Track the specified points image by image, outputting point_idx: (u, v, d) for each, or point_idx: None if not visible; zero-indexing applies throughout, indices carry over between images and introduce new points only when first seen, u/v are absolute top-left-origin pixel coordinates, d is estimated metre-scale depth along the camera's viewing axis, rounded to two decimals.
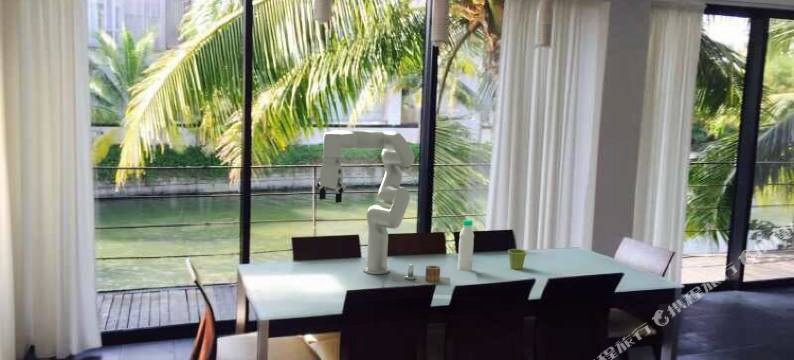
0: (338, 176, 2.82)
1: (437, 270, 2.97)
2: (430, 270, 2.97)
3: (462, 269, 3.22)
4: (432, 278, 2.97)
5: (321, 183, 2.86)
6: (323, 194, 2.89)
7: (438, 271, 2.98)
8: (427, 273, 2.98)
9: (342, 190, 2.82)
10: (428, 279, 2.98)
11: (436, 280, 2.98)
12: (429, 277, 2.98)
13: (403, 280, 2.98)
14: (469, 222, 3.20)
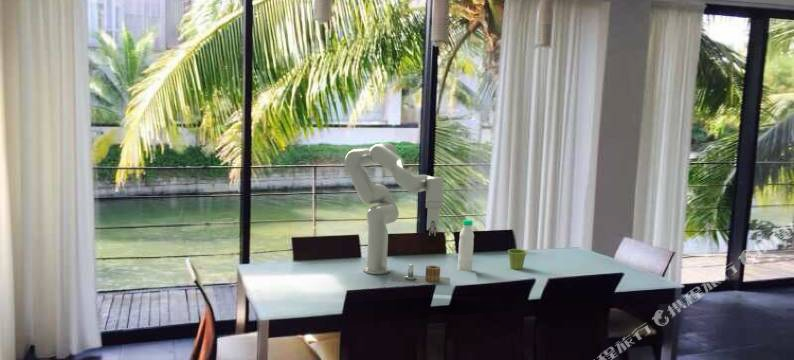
0: None
1: (437, 270, 2.97)
2: (430, 270, 2.97)
3: (462, 269, 3.22)
4: (432, 278, 2.97)
5: (437, 228, 2.93)
6: None
7: (438, 271, 2.98)
8: (427, 273, 2.98)
9: None
10: (428, 279, 2.98)
11: (436, 280, 2.98)
12: (429, 277, 2.98)
13: (403, 280, 2.98)
14: (469, 222, 3.20)
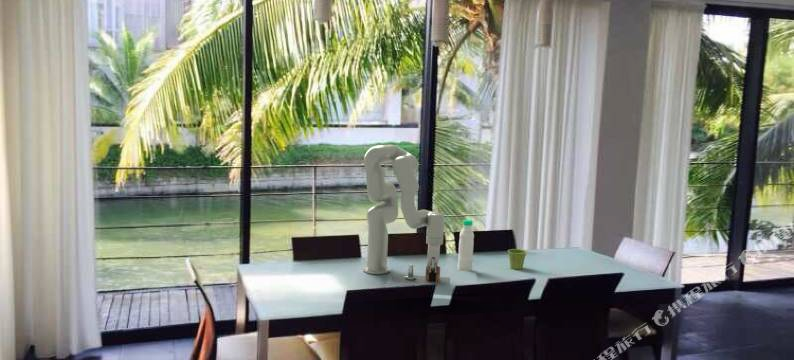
0: None
1: (437, 270, 2.97)
2: None
3: (462, 269, 3.22)
4: None
5: (437, 264, 2.96)
6: None
7: (438, 271, 2.98)
8: (427, 273, 2.98)
9: None
10: (428, 279, 2.98)
11: (436, 280, 2.98)
12: None
13: (403, 280, 2.98)
14: (469, 222, 3.20)
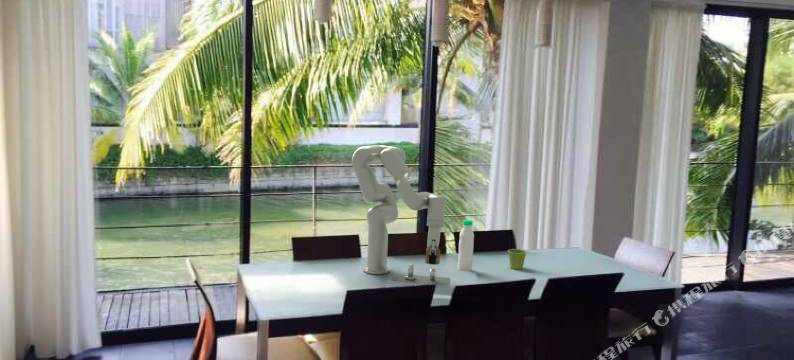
0: None
1: (437, 252, 2.96)
2: None
3: (462, 269, 3.22)
4: None
5: None
6: None
7: (438, 253, 2.97)
8: (427, 255, 2.97)
9: None
10: (428, 261, 2.97)
11: (436, 262, 2.97)
12: None
13: (403, 280, 2.98)
14: (469, 222, 3.20)
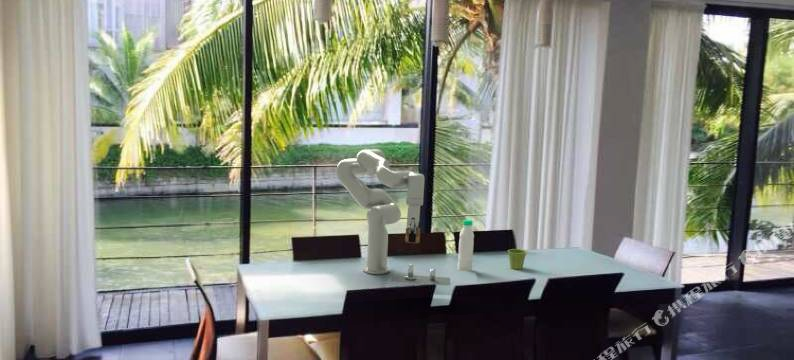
0: None
1: (417, 231, 2.96)
2: None
3: (462, 269, 3.22)
4: None
5: (417, 224, 2.94)
6: None
7: (418, 232, 2.96)
8: (407, 234, 2.97)
9: None
10: None
11: (416, 241, 2.96)
12: None
13: (403, 280, 2.98)
14: (469, 222, 3.20)
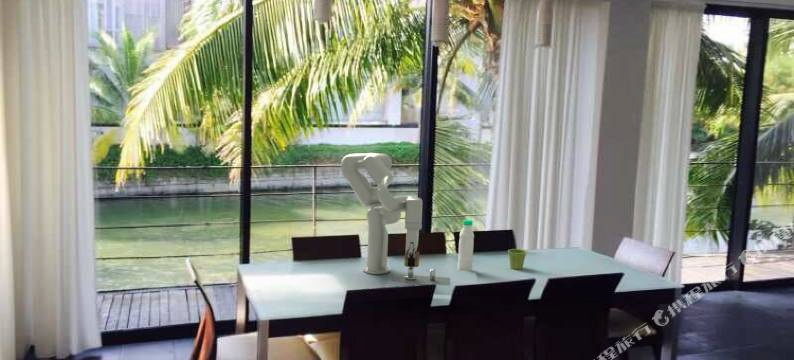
0: None
1: (416, 255, 2.97)
2: None
3: (462, 269, 3.22)
4: None
5: (416, 248, 2.95)
6: None
7: (417, 256, 2.98)
8: (406, 258, 2.98)
9: None
10: (407, 264, 2.98)
11: (415, 265, 2.98)
12: None
13: (403, 280, 2.98)
14: (469, 222, 3.20)
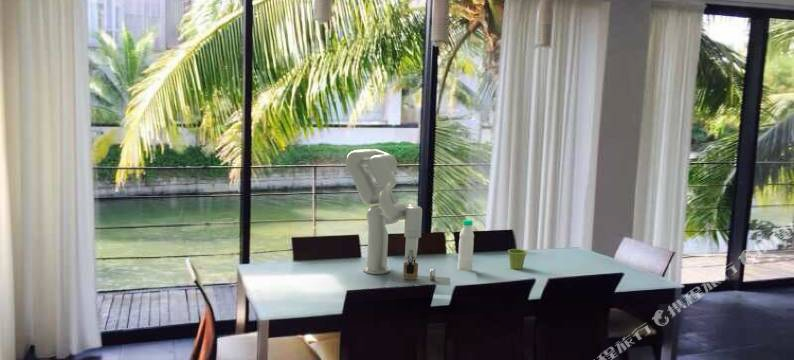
0: None
1: (415, 266, 2.98)
2: None
3: (462, 269, 3.22)
4: (410, 274, 2.98)
5: (415, 257, 2.96)
6: None
7: (416, 267, 2.99)
8: (405, 269, 2.99)
9: None
10: (406, 275, 2.99)
11: (414, 276, 2.99)
12: (407, 273, 2.98)
13: (403, 280, 2.98)
14: (469, 222, 3.20)
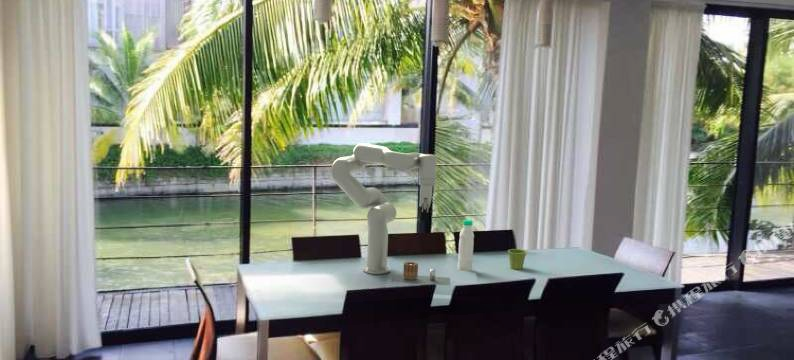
0: None
1: (415, 266, 2.98)
2: (408, 266, 2.98)
3: (462, 269, 3.22)
4: (410, 274, 2.98)
5: None
6: None
7: (416, 267, 2.99)
8: (405, 269, 2.99)
9: None
10: (406, 275, 2.99)
11: (414, 276, 2.99)
12: (407, 273, 2.98)
13: (403, 280, 2.98)
14: (469, 222, 3.20)
